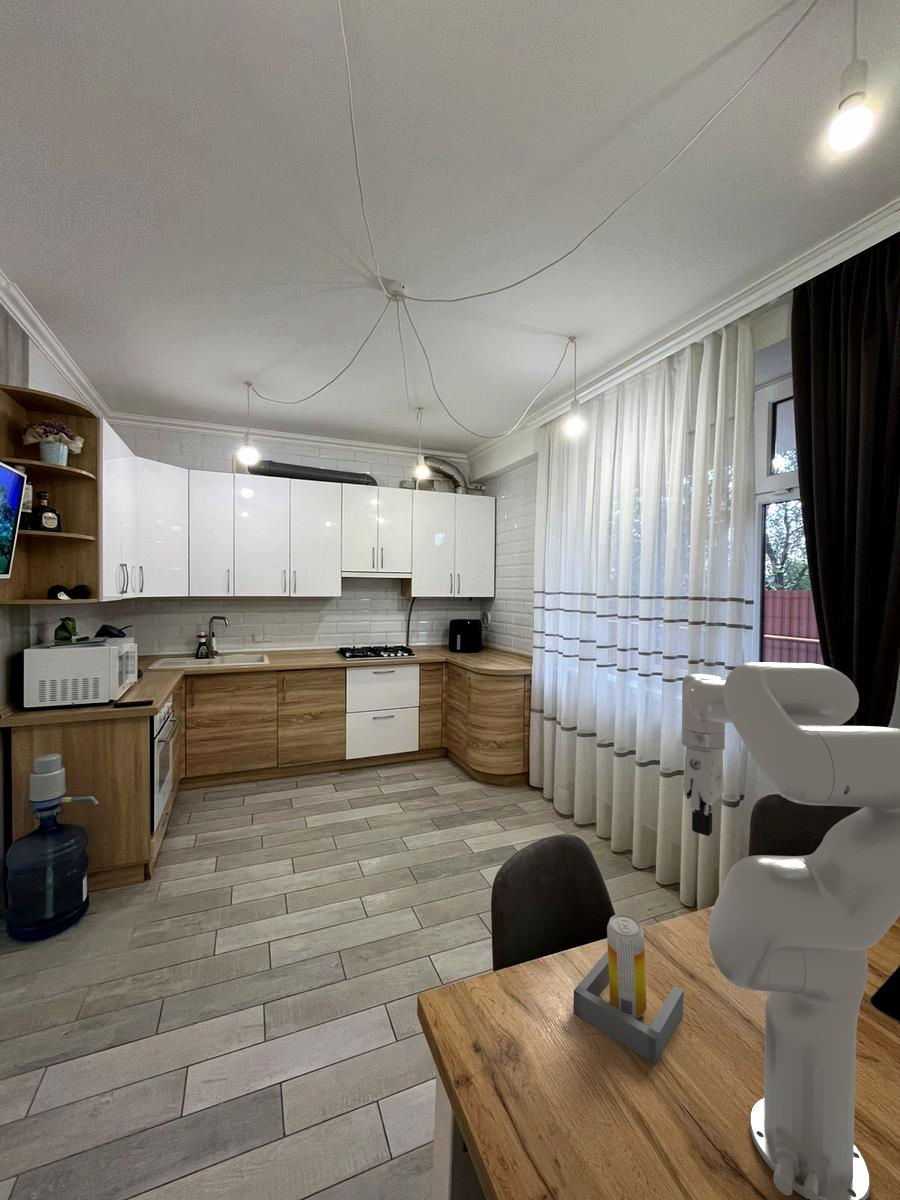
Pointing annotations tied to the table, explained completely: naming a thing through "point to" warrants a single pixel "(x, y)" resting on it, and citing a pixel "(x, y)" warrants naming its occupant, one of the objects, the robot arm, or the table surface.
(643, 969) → the beer can
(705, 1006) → the table surface
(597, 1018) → the corral
